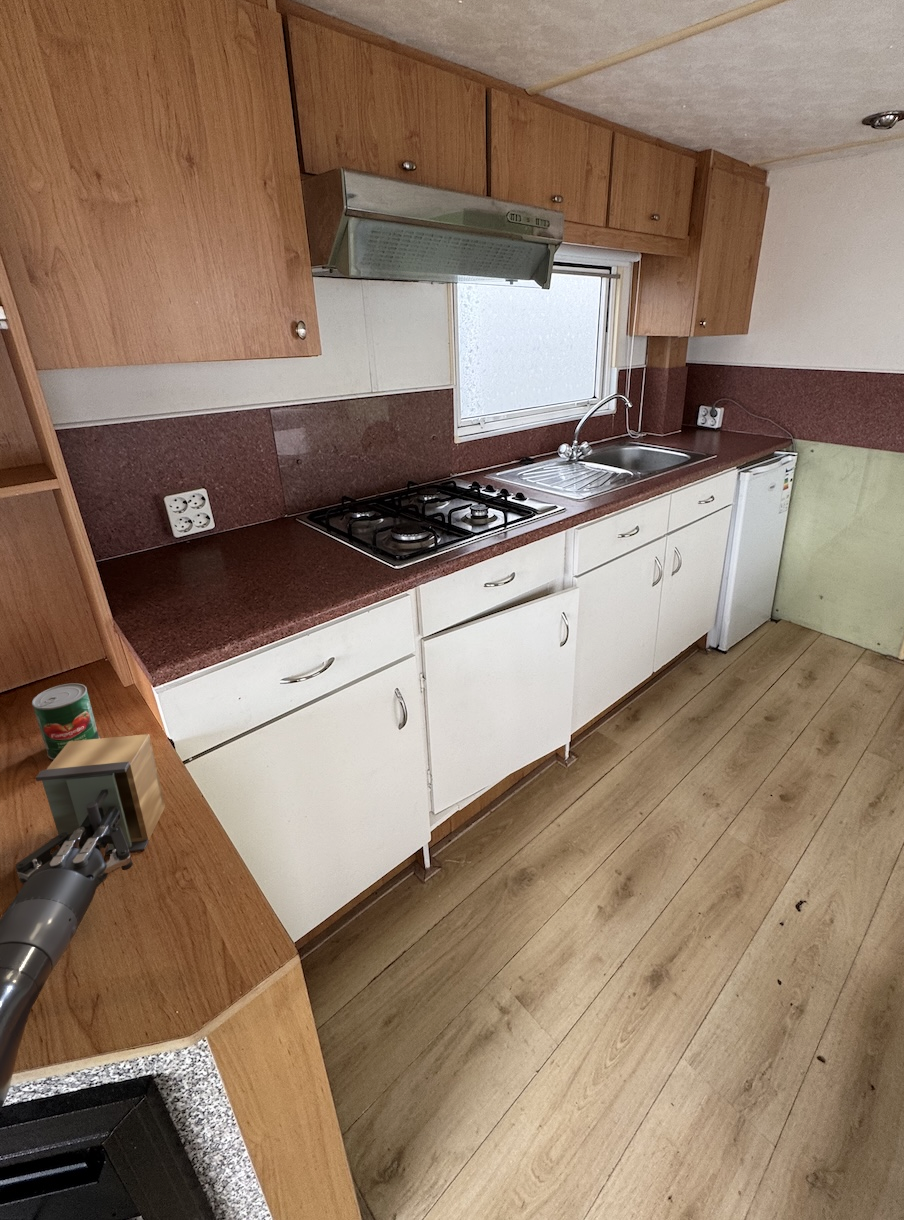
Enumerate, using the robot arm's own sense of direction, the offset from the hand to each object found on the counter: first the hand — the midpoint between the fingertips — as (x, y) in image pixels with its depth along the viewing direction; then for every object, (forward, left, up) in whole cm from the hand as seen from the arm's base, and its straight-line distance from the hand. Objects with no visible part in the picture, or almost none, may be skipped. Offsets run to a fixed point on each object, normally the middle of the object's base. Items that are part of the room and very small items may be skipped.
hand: (107, 811), depth 81 cm
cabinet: (-2, +6, -8) cm, 10 cm away
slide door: (-2, -1, -7) cm, 8 cm away
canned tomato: (-18, +28, -8) cm, 34 cm away
